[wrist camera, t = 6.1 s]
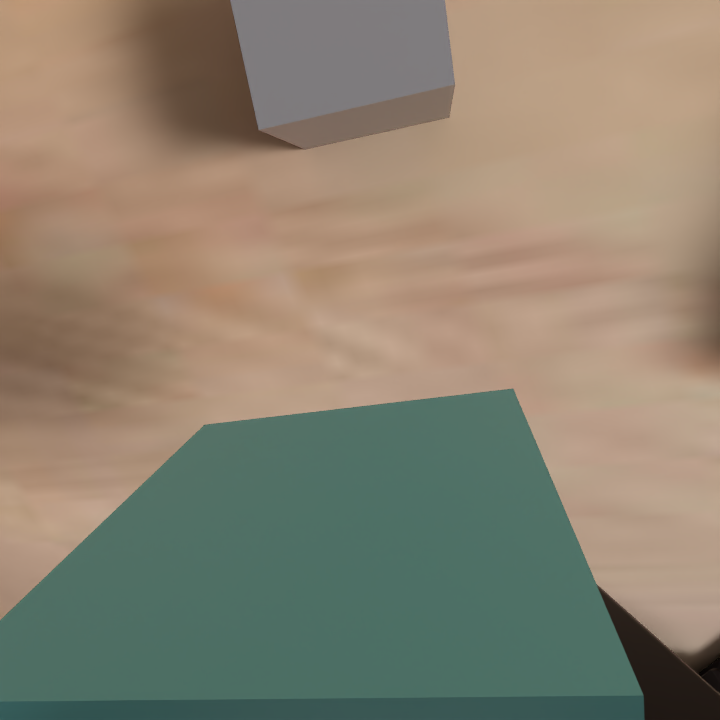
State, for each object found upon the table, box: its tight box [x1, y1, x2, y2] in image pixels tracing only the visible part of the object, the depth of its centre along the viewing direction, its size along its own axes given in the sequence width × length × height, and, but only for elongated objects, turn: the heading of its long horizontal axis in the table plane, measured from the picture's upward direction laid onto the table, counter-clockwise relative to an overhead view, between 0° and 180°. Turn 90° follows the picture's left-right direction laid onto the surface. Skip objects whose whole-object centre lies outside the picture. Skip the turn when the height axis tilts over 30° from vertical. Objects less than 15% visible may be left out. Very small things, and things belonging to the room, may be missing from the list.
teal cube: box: [0, 389, 645, 720], centre depth 6 cm, size 5×5×5 cm
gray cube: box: [230, 0, 455, 149], centre depth 14 cm, size 5×5×5 cm
